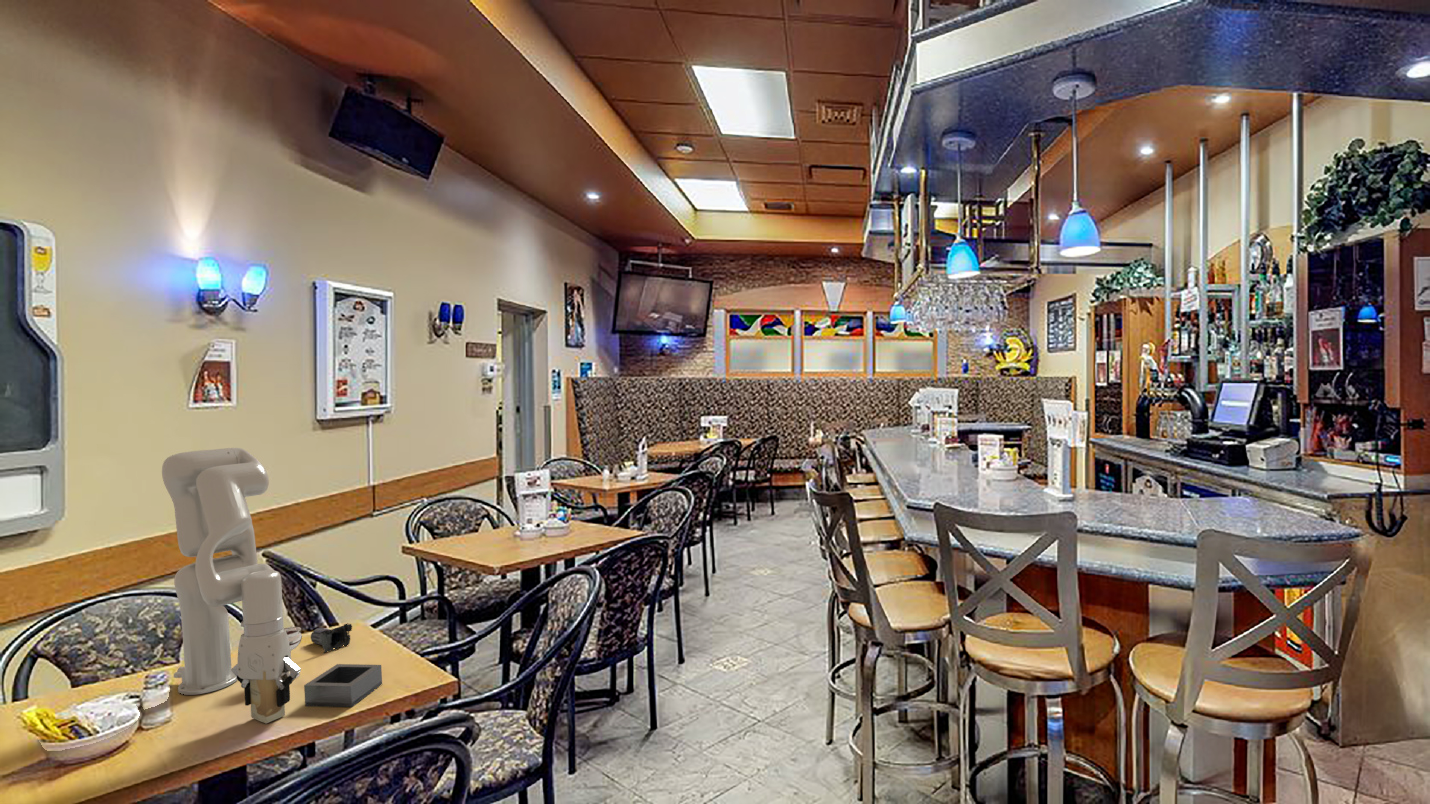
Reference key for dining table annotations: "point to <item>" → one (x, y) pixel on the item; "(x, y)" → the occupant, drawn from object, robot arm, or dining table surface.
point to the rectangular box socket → (343, 685)
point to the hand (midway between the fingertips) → (267, 702)
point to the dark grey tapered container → (332, 637)
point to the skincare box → (265, 700)
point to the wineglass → (293, 638)
